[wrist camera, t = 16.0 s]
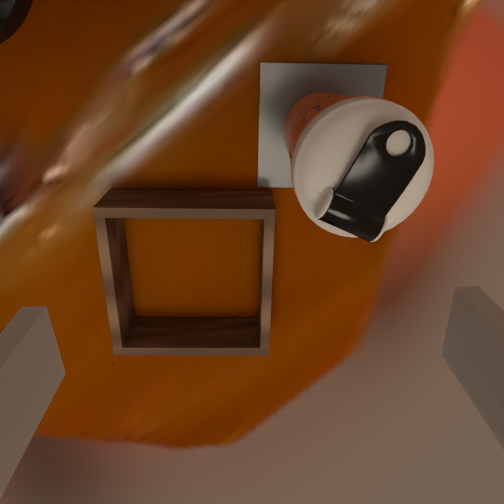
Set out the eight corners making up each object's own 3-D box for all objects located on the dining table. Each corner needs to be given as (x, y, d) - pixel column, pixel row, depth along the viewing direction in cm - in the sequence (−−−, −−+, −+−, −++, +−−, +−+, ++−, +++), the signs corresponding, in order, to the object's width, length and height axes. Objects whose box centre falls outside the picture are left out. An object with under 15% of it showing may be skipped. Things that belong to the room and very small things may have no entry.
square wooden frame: (110, 189, 45) (92, 207, 39) (271, 190, 45) (275, 209, 40) (127, 323, 52) (114, 355, 47) (266, 324, 53) (269, 355, 47)
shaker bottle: (377, 97, 41) (483, 129, 23) (343, 183, 45) (413, 270, 27) (290, 69, 40) (330, 81, 22) (263, 160, 44) (278, 235, 26)
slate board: (260, 62, 40) (260, 62, 40) (386, 65, 40) (387, 65, 40) (257, 186, 45) (257, 187, 45) (369, 187, 45) (370, 188, 45)
